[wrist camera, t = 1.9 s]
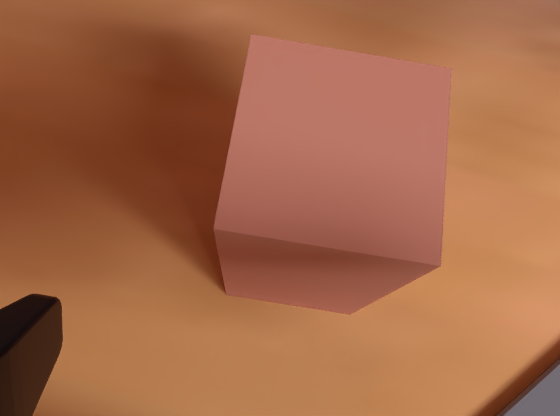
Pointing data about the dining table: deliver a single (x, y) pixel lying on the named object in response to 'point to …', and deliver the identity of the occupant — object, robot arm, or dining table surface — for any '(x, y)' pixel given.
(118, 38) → the dining table surface
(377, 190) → the red block
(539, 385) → the slate mat
